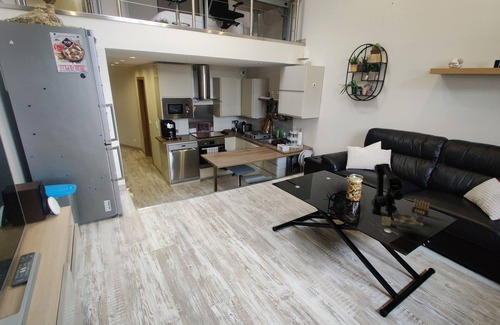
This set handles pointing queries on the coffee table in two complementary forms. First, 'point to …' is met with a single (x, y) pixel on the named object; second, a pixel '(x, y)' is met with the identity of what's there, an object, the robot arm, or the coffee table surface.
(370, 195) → the coffee table surface
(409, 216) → the shaft stand
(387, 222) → the block
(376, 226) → the pliers
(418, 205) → the ammunition clip
